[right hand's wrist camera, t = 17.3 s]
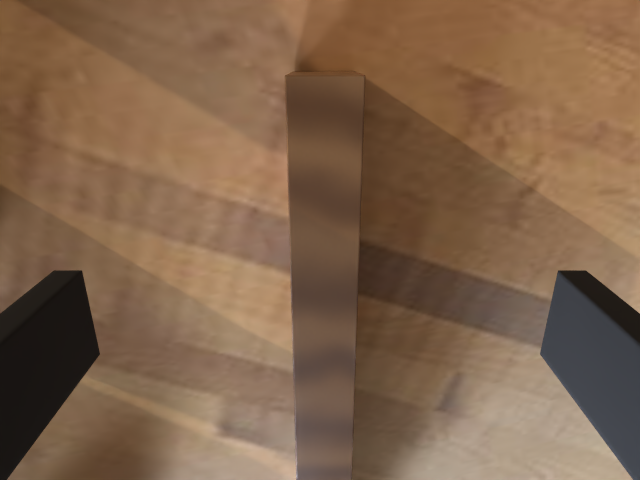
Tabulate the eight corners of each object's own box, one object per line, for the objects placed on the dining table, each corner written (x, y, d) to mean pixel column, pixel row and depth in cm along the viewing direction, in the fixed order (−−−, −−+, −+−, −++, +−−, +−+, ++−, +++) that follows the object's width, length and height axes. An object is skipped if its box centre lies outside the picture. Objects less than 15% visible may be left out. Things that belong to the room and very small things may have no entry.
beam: (291, 71, 33) (284, 75, 26) (355, 71, 33) (365, 75, 26) (302, 552, 52) (300, 625, 46) (343, 552, 52) (346, 625, 46)
